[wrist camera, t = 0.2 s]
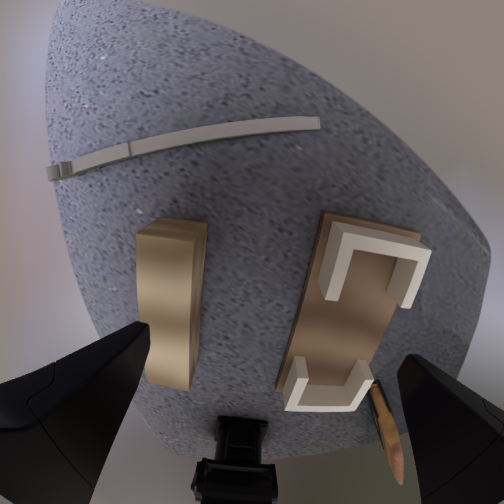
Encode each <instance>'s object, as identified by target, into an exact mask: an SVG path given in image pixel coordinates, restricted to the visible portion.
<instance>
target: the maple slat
mask: <svg viewBox="0 0 504 504" xmlns="http://www.w3.org/2000/svg"><path fill="white" fill-rule="evenodd" d="M207 229H208V223H204V222H196V221H189V220H181V219H174V218H166V217H159V218H158V219H156V220H155V221H153V222H152V223H150V224H149V225H148V226H146V227H145V228H143V229H142V230H141V231H139V232H138V233H136V275H137V296H138V310H139V321H140V322H144V323H148V324H149V327H150V341H151V345H150V350H149V353H148V356H147V359H146V363H145V372H146V379H147V382H150V383H153V384H157V385H162V386H166V387H170V388H175V389H179V390H184V391H189V390H190V386H191V383H192V379H193V375H194V372H195V368H196V364H197V361H198V355H199V334H200V316H201V300H202V286H203V273H204V261H205V250H206V239H207Z"/></svg>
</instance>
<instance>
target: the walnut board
mask: <svg viewBox="0 0 504 504" xmlns="http://www.w3.org/2000/svg"><path fill="white" fill-rule="evenodd" d="M332 221H335V222H340V223H345V224H350V225H355V226H360V227H365V228H370V229H374V230H379V231H383V232H388V233H392V234H397V235H401V236H406V237H410V238H414V239H415V240H417V241H418V242H419V240H420V237H421V234H420V233H418V232H417V231H414V230H410V229H406V228H402V227H398V226H394V225H389V224H385V223H381V222H376V221H372V220H367V219H363V218H358V217H354V216H349V215H344V214H339V213H334V212H329V211H324V210H322V214H321V218H320V223H319V227H318V232H317V236H316V240H315V245H314V249H313V253H312V257H311V261H310V265H309V269H308V273H307V277H306V281H305V285H304V289H303V293H302V296H301V300H300V304H299V307H298V311H297V315H296V318H295V322H294V325H293V329H292V332H291V336H290V339H289V342H288V346H287V349H286V352H285V356H284V359H283V362H282V365H281V368H280V372H279V375H278V378H277V381H276V384H275V392H283V388H284V385H285V382H286V379H287V377H288V374H289V371H290V368H291V365H292V362H293V359H294V356H304V357H305V360H306V366H307V371H308V377H309V380H308V382H307V384H306V385H329V386H344V384H345V382H346V381H347V379H348V377H349V375H350V373H351V371H352V369H353V367H354V365H355V363H356V361H357V359H360V360H366V362H367V364H368V365H369V363H370V362H371V360H372V358H373V356H374V354H375V352H376V350H377V348H378V346H379V344H380V341H381V339H382V337H383V335H384V333H385V331H386V329H387V326H388V324H389V322H390V320H391V317H392V315H393V313H394V310H395V308H396V305H397V302H396V301H395V300H394V299H393V297H392V296H391V295H390V294H389V292H388V291H387V288H388V285H389V283H390V280H391V277H392V274H393V271H394V268H395V265H396V262H397V259H398V257H394V256H389V255H384V254H378V253H373V252H367V251H362V250H356V249H354V250H353V253H352V257H351V260H350V264H349V267H348V271H347V274H346V277H345V281H344V284H343V287H342V290H341V293H340V296H339V299H338V301H331V300H325V299H324V296H323V294H322V291H321V289H320V286H319V284H318V277H319V273H320V269H321V266H322V262H323V258H324V254H325V250H326V246H327V242H328V238H329V234H330V229H331V225H332Z"/></svg>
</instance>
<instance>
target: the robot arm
mask: <svg viewBox="0 0 504 504" xmlns="http://www.w3.org/2000/svg"><path fill="white" fill-rule="evenodd" d="M150 345H151V341H150V327H149V324H148V323H144V322H140V321H136V322H133V323H131V324H129V325H128V326H126V327H124V328H122V329H120V330H118V331H116V332H114V333H112V334H110V335H107V336H105V337H103V338H101V339H99V340H98V341H95V342H93V343H91V344H90V345H87V346H85V347H83V348H81V349H79V350H77V351H75V352H73V353H71V354H69V355H67V356H65V357H63V358H61V359H59V360H57V361H56V363H55V362H53V363H51V364H49V365H47V366H44V367H42V368H40V369H38V370H36V371H33V372H31V373H28V374H26V375H23V376H21V377H18V378H15V379H12V380H9V381H7V382H4V383H1V384H0V504H89V503H90V500H91V497H92V495H93V492H94V488H95V486H96V484H97V481H98V479H99V476H100V474H101V471H102V469H103V466H104V464H105V461H106V459H107V456H108V454H109V451H110V449H111V446H112V444H113V442H114V439H115V437H116V435H117V432H118V430H119V428H120V425H121V423H122V421H123V418H124V416H125V414H126V412H127V409H128V407H129V405H130V403H131V401H132V398H133V396H134V394H135V392H136V389H137V387H138V384H139V381H140V378H141V375H142V372H143V369H144V366H145V363H146V359H147V356H148V353H149V350H150ZM397 379H398V384H399V389H400V395H401V401H402V407H403V412H404V416H405V420H406V424H407V428H408V432H409V436H410V441H411V445H412V449H413V455H414V459H415V465H416V470H417V476H418V482H419V488H420V495H421V499H422V500H421V503H422V504H504V411H503V410H502V409H500V408H498V407H497V406H495V405H494V404H492V403H490V402H489V401H487V400H486V399H484V398H482V397H481V396H480V395H478V394H477V393H475V392H474V391H472V390H471V389H469V388H468V387H466V386H465V385H463V384H462V383H460V382H459V381H457V380H456V379H454V378H453V377H451V376H450V375H448V374H447V373H445V372H444V371H442V370H441V369H439V368H438V367H436V366H435V365H433V364H432V363H430V362H429V361H427V360H426V359H424V358H423V357H421V356H420V355H418V354H408V355H407V356H406V357H405V359H404V361H403V363H402V364H401V366H400V368H399V370H398V372H397ZM267 428H268V422H266V421H255V420H245V419H237V418H229V417H222V416H219V417H217V422H216V430H215V438H214V440H215V441H217V445H216V452H215V459H214V460H212V459H207V458H202V461H201V462H197V466H196V472H195V475H194V478H193V482H192V484H191V490H192V491H193V492H194V495H195V497H196V498H195V500H196V501H199V502H201V504H276V503H277V498H278V485H277V477H276V470H275V464H261V446H262V440H263V438H264V435H265V433H266V431H267Z"/></svg>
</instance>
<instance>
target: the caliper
mask: <svg viewBox="0 0 504 504" xmlns="http://www.w3.org/2000/svg"><path fill="white" fill-rule="evenodd" d="M320 129H321V127H320V120H319V117H306V116H293V117H277V118H265V119H254V120H245V121H237V122H229V123H222V124H215V125H209V126H203V127H197V128H191V129H186V130H181V131H176V132H171V133H166V134H162V135H157V136H153V137H149V138H145V139H141V140H137V141H133V142H126V143H122V144H119V145H115V146H112V147H109V148H105V149H102V150H99V151H96V152H93V153H90V154H87V155H84V156H81V157H78V158H75V159H73V160H72V161H68V162H59V165H54V166H49V167H46V170H47V176H48V181H50V182H52V181H58V180H63V179H68V178H72V177H77V176H81V175H84V174H85V173H84V172H89V171H97V170H100V167H102V166H105V165H109V164H113V163H117V162H121V161H124V160H128V159H132V158H136V157H138V156H140V155H145V154H149V153H153V152H157V151H162V150H166V149H171V148H176V147H181V146H186V145H191V144H197V143H202V142H208V141H214V140H221V139H228V138H235V137H242V136H251V135H260V134H269V133H281V132H292V131H303V130H320Z"/></svg>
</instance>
